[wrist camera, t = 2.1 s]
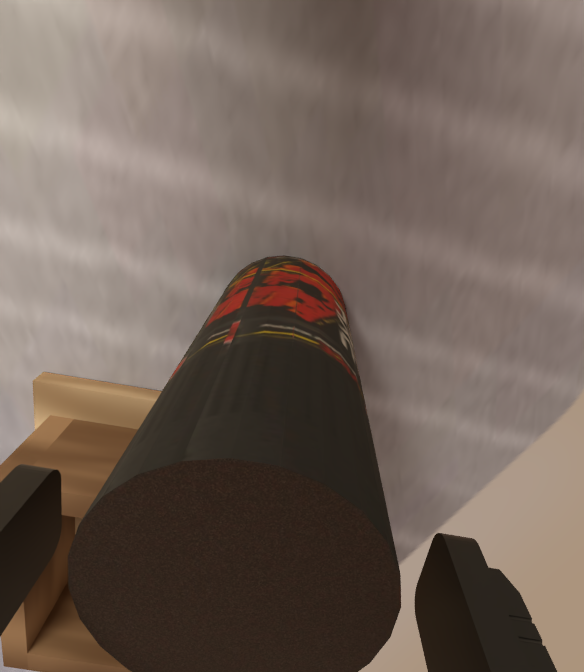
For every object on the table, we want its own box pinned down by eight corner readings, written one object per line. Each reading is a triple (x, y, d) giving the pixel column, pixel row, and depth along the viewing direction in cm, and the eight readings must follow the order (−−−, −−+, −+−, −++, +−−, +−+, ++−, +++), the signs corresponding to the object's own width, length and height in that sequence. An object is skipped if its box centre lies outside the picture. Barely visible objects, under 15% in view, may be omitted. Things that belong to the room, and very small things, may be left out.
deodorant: (371, 321, 22) (471, 611, 8) (280, 396, 24) (235, 742, 10) (285, 227, 21) (228, 387, 7) (194, 314, 22) (0, 584, 8)
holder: (43, 371, 24) (-39, 439, 18) (296, 413, 24) (291, 492, 19) (51, 585, 29) (-10, 686, 24) (257, 616, 30) (244, 724, 24)
